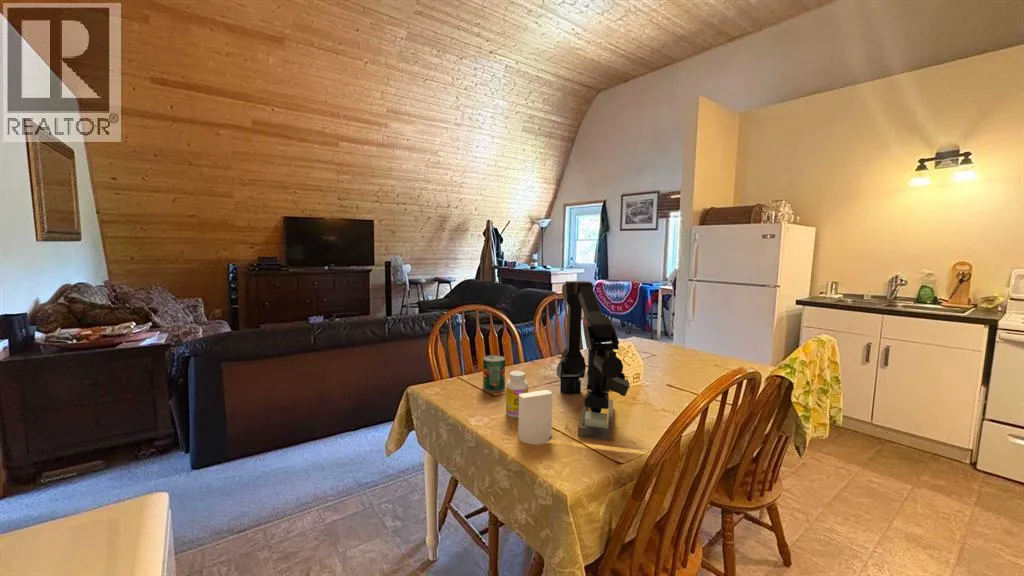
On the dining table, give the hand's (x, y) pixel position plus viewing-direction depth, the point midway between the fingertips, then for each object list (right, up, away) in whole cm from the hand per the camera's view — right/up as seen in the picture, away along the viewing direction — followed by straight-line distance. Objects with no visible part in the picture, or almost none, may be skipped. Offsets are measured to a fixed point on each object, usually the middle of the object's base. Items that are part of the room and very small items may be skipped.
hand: (596, 419), depth 118 cm
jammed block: (-1, -2, -4) cm, 4 cm away
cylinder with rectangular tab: (-18, -3, -5) cm, 19 cm away
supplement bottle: (-22, -2, +10) cm, 25 cm away
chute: (+1, -2, +3) cm, 4 cm away
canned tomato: (-30, +1, +32) cm, 44 cm away
